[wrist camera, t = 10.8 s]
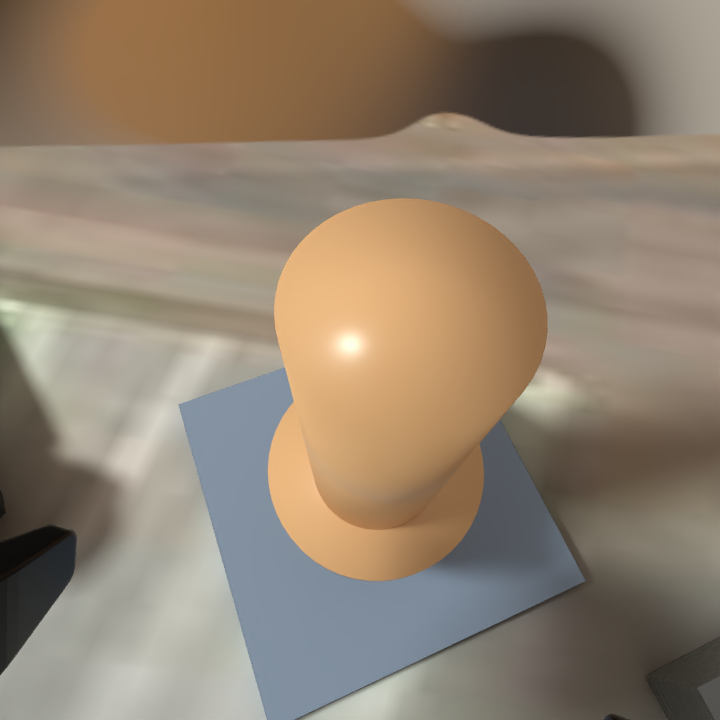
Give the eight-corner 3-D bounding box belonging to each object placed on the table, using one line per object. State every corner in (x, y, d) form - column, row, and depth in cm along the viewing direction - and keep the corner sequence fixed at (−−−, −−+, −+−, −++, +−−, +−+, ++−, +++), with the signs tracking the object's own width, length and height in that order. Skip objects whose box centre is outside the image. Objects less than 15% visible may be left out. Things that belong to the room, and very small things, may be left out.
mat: (580, 581, 20) (586, 581, 20) (272, 727, 18) (270, 731, 17) (441, 318, 24) (443, 312, 24) (181, 408, 22) (178, 404, 22)
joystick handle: (490, 465, 21) (711, 257, 8) (398, 625, 19) (510, 676, 6) (347, 375, 23) (350, 80, 10) (245, 512, 20) (72, 360, 7)
